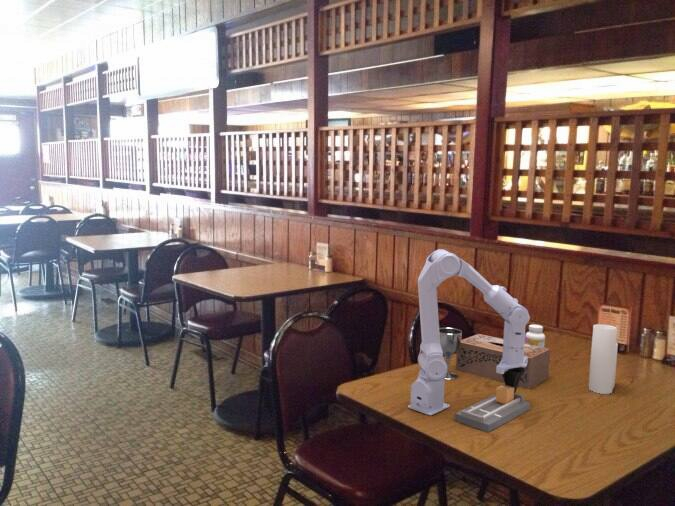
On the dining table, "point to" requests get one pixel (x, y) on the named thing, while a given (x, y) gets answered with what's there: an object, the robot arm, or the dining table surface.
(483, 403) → the grey flat railed block
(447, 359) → the wine glass
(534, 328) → the supplement bottle
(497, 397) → the fader tab
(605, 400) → the dining table surface
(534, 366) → the tissue box cover
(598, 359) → the candle
